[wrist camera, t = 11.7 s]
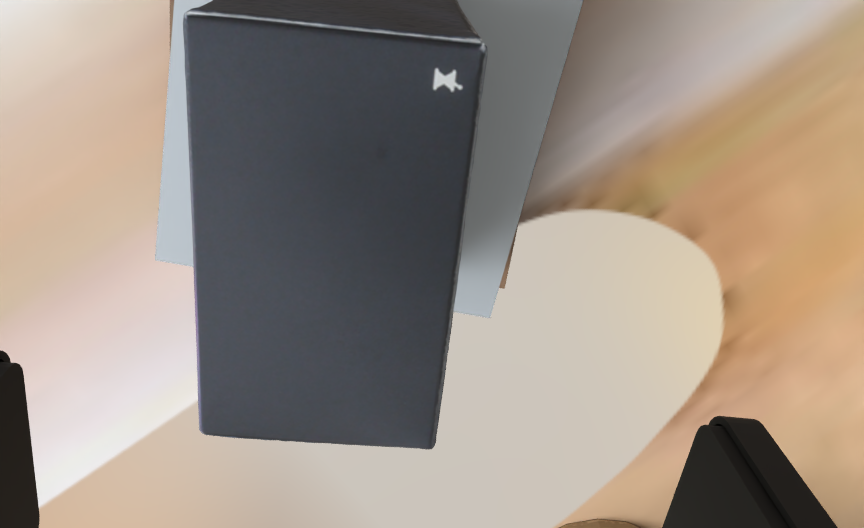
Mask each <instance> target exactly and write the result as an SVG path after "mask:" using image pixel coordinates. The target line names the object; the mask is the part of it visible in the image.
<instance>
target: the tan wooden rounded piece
mask: <svg viewBox="0 0 864 528" xmlns="http://www.w3.org/2000/svg"><path fill="white" fill-rule="evenodd" d="M560 528H639V527H637V526H635V525H633V524H630V523H628V522H621V521H611V520H601V519H595V520H589V521H583V522H577V523H572V524H566V525H564V526H562V527H560Z"/></svg>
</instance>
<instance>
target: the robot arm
mask: <svg viewBox="0 0 864 528" xmlns="http://www.w3.org/2000/svg"><path fill="white" fill-rule="evenodd" d="M0 528H39V508H38V499H37V490H36V481H35V472H34V464H33V455H32V446H31V437H30V428H29V419H28V411H27V402H26V393H25V384H24V375H23V370H22V368H21V366H20V365H19V364H17V363H11V362H10V358H9V356H8V355H7V353H5V352H4V351H0ZM662 528H837V526H836V525H835V524H834V522H833V521H832V519H831V518H830V517H829V515H828V514H827V512H826V511H825V510H824V508H823V507H822V506H821V504H820V503H819V501H818V500H817V499H816V497H815V496H814V495H813V493H812V492H811V490H810V489H809V488H808V486H807V485H806V484H805V482H804V481H803V479H802V478H801V477H800V475H799V474H798V473H797V471H796V470H795V468H794V467H793V466H792V464H791V463H790V461H789V460H788V459H787V457H786V456H785V455H784V453H783V452H782V450H781V449H780V448H779V446H778V445H777V444H776V442H775V441H774V439H773V438H772V437H771V435H770V434H769V433H768V431H767V430H766V428H765V427H764V426H763V425H762V424H761V423H760V422H759V421H758V420H755V419H747V418H736V417H725V416H717V417H714V418H713V419H712V420H711V421H710V423H709V425H703V426H701V427H700V428H699V429H698V431H697V433H696V436H695V438H694V441H693V444H692V447H691V450H690V452H689V455H688V458H687V461H686V463H685V466H684V469H683V472H682V475H681V477H680V480H679V483H678V486H677V488H676V491H675V494H674V497H673V500H672V502H671V505H670V508H669V511H668V513H667V516H666V519H665V522H664V524H663V527H662Z"/></svg>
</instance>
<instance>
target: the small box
mask: <svg viewBox="0 0 864 528" xmlns="http://www.w3.org/2000/svg"><path fill="white" fill-rule="evenodd" d="M183 35H184V51H185V79H186V100H187V122H188V145H189V168H190V191H191V214H192V238H193V264H194V290H195V316H196V343H197V372H198V407H199V430H200V431H201V433H203V434H205V435H213V436H222V437H232V438H247V439H261V440H281V441H296V442H309V443H332V444H346V445H365V446H382V447H403V448H420V449H432V448H433V447H434V445H435V443H436V434H437V428H438V421H439V414H440V406H441V399H442V392H443V386H444V378H445V370H446V362H447V353H448V349H449V340H450V334H451V327H452V318H453V311H454V304H455V297H456V291H457V283H458V275H459V267H460V261H461V252H462V244H463V237H464V228H465V218H466V211H467V205H468V199H469V191H470V183H471V175H472V169H473V164H474V155H475V147H476V140H477V133H478V123H479V116H480V111H481V99H482V93H483V85H484V78H485V70H486V63H487V55H488V49H487V46H486V45H485V44H484V43H483V41H482V39H481V37H480V36H479V35H478V33H477V32H476V31H475V29H474V27H473V26H472V25H471V22H470V21H469V19H468V18H467V17H466V16H465V14H464V12H463V11H462V9H461V7H460V5H459V3H458V1H457V0H213V1H211V2H209V3H207V4H205V5H203V6H200V7H197V8H192V9H190V10H189V11H187V12H185V13H184V18H183Z"/></svg>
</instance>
